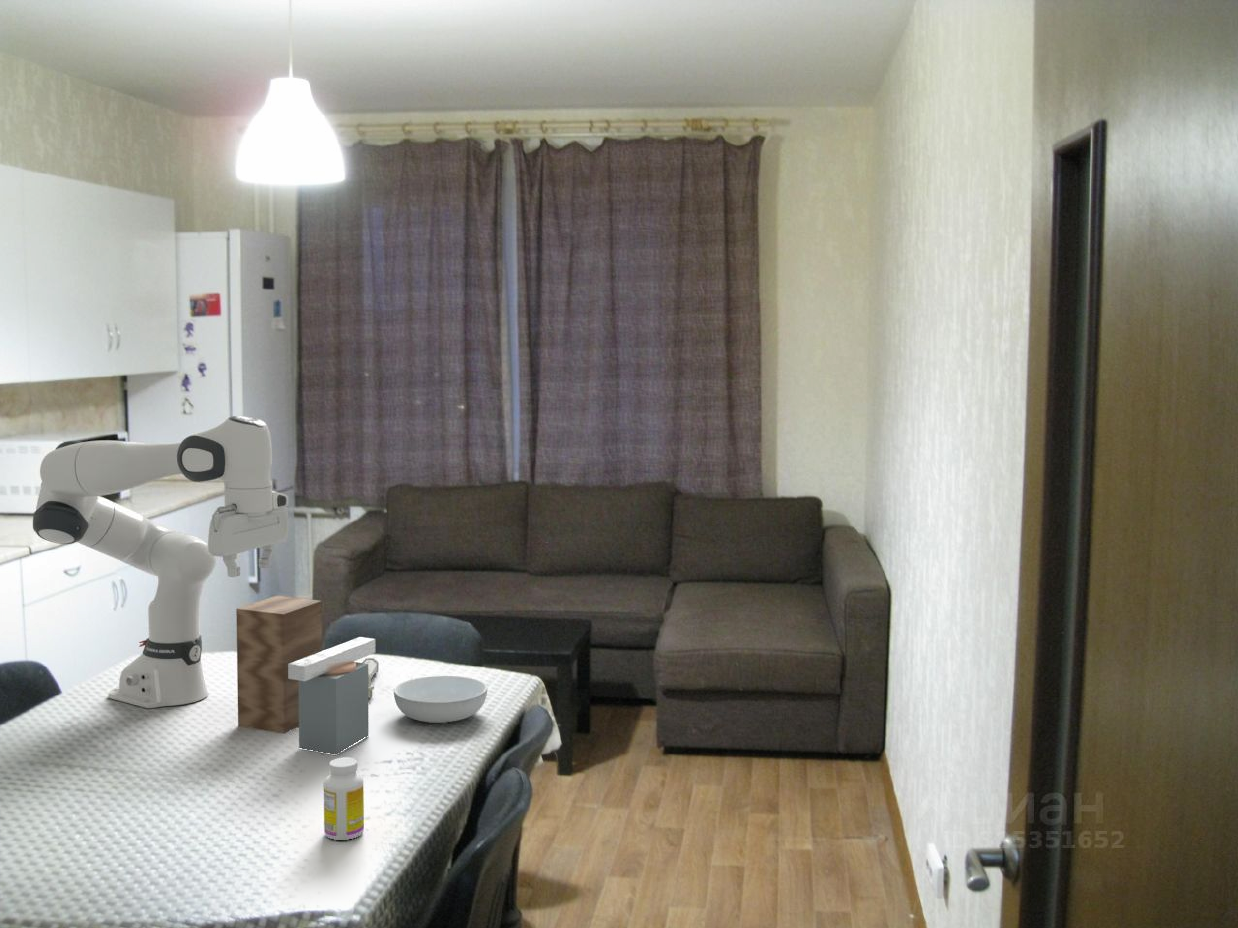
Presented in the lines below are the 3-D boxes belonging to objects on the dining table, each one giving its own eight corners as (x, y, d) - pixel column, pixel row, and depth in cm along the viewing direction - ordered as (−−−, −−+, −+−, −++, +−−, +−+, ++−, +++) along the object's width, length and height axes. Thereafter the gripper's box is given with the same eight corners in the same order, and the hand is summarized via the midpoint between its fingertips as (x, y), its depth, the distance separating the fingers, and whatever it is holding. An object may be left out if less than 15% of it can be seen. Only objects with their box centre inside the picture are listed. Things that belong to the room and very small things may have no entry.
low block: (299, 749, 246) (298, 669, 244) (332, 731, 257) (331, 655, 255) (336, 755, 243) (336, 674, 241) (368, 737, 254) (368, 660, 252)
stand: (238, 725, 259) (236, 608, 256) (277, 707, 272) (276, 595, 270) (284, 733, 255) (283, 614, 252) (322, 714, 268) (321, 600, 265)
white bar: (288, 678, 238) (288, 663, 237) (359, 650, 260) (359, 636, 259) (304, 681, 236) (304, 666, 236) (375, 652, 258) (375, 638, 258)
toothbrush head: (381, 656, 303) (372, 670, 278) (381, 682, 303) (372, 699, 278) (360, 656, 303) (349, 671, 278) (360, 683, 302) (349, 699, 278)
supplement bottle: (367, 826, 209) (366, 755, 207) (360, 842, 202) (359, 769, 201) (328, 826, 208) (328, 754, 207) (320, 842, 202) (319, 768, 200)
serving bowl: (495, 705, 278) (495, 676, 277) (475, 735, 257) (476, 704, 256) (408, 700, 280) (408, 672, 279) (381, 730, 259) (381, 699, 258)
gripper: (227, 509, 219) (228, 583, 220) (293, 495, 238) (294, 564, 240) (198, 507, 221) (200, 580, 223) (267, 493, 240) (268, 561, 242)
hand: (249, 571), depth 231 cm, fingers open, 8 cm apart
